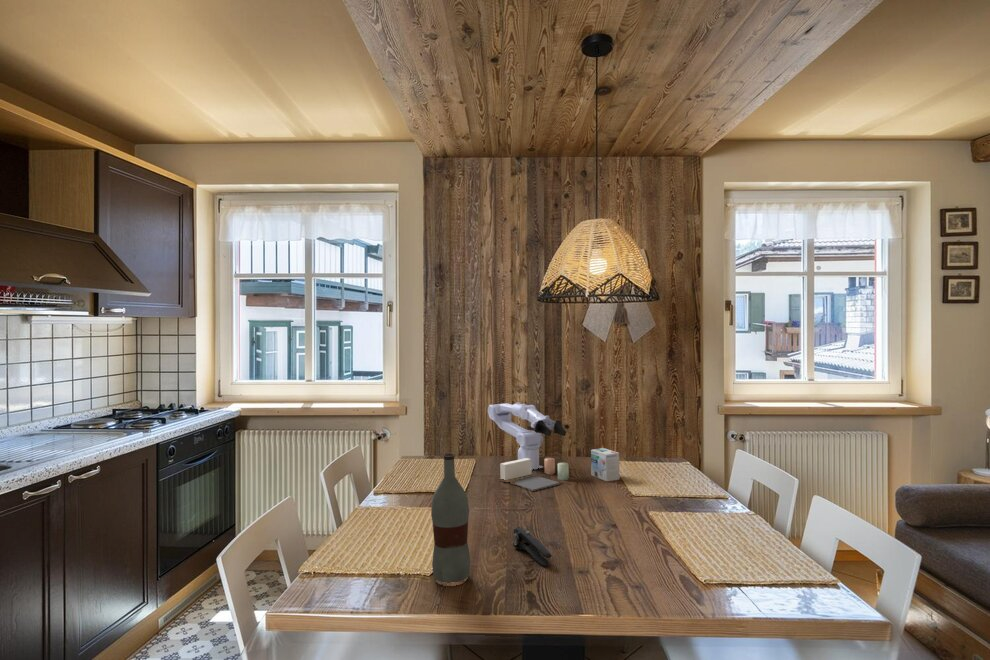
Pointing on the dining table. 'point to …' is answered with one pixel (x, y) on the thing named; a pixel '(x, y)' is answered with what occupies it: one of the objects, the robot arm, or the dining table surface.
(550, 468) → the terracotta part
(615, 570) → the dining table surface
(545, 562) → the can opener
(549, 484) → the pad
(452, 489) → the bottle
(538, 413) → the robot arm
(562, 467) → the sage part
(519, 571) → the dining table surface
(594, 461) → the light bulb box
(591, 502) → the dining table surface
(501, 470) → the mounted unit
